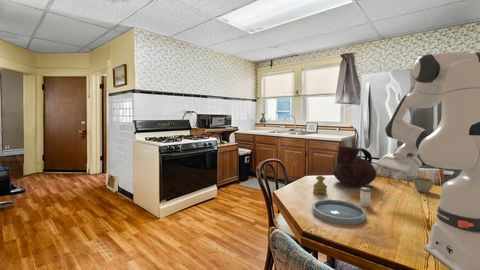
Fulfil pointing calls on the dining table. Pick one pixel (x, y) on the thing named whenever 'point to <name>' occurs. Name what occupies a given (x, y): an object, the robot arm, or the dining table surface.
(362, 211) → the dish
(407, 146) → the robot arm
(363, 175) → the jug
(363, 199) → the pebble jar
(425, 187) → the flower pot
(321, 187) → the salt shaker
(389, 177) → the juicer
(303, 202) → the dining table surface
